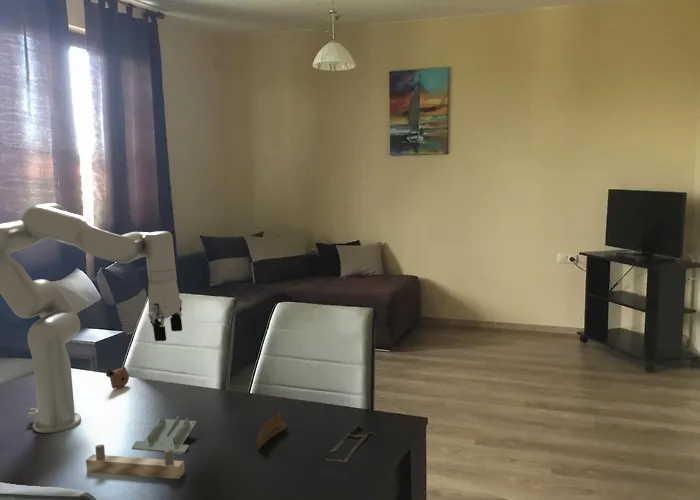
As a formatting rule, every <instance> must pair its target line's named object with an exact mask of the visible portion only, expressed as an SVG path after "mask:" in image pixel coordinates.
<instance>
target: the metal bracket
mask: <svg viewBox="0 0 700 500" xmlns="http://www.w3.org/2000/svg"><path fill="white" fill-rule="evenodd" d="M196 423H197V421H196V420H190V419H189V418H185V419H180V416H179V415H177V416H176V418H175V419H169V418H165V416H161V417H160V418H159V419H158V420H157V422H156V423H155V425H154V426H153V427H152V429H151V431H150V432H149V433H148V434H147V436H145V437H146V438H145V439H144V440H143V441H142V440H136V441H135V442H134V444H133V445H132V446H131V450H136V451H151V452H161V453H162V452H164V451H166V450H169V449H171V450H173V454H177V455H178V454H180V455H183V454H185V453H186V452H187V450H188V448H189V444H184V443H185V441H186V439H187V438H188V437H189V435H190V433H191V432H192V430H193V428H194V426H195V425H196Z"/></svg>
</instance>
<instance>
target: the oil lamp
mask: <svg viewBox="0 0 700 500" xmlns="http://www.w3.org/2000/svg"><path fill="white" fill-rule="evenodd" d="M105 375H106V377H107V378H109V380H110V385H111V388H112V389H113V390H114V389H122V388H124V387H125V386H126V385H127V384H128V383H129V380H130V374H129V372H128V370H127V368H126V366H123V367H119V368H116V369H115V370H113V369H112V368H111V367H110V368H108V369H107V370H106V374H105Z"/></svg>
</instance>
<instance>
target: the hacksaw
mask: <svg viewBox="0 0 700 500" xmlns="http://www.w3.org/2000/svg"><path fill="white" fill-rule="evenodd" d="M362 428H363V427H362V426H361V425H360V424H356V425H354V426H353V428H352V429H351V430H350V431H348V433H347V434H346V436H344V437H343V438H342V439H341V440H340V441H339V442H337V444H336V445H335V446H333V448H332V449H331V450H330V451H329V453H333V452H336V451H337V450H339V448H341V446H343V444H345V442H347V440H348V439H349V438H353V439H359V440H358V441H357V443H355V445H354V446H353V447H352V449H350V451H349V453H348V454H347V455H346V456H345V458H344V460H342V459H330V458H325V459H324V460H325V461H327V462H341V463H347V462H348V461H349V464H351V465H352V466H353V467H355V468H354V469H353V471H355V470H357V468H358V467H357V465H356V464H354V463H352V462H351V460H352V459H353V458H354V456H353V454H355V452H356V451H357V450H358V449H359V447H361V446H362V444H363V443H364V442H365V441H366V440H367V439H368V438H374V437H375V436H376V434H375V432H373V431H372V432H371V431H370V432H367V433H365V434H356V433H357V432H359V431H362ZM369 434H374V435H373V436H372V437H371V436H370V437H369Z"/></svg>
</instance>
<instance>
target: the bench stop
mask: <svg viewBox="0 0 700 500" xmlns="http://www.w3.org/2000/svg"><path fill="white" fill-rule="evenodd" d="M85 465H86V472H87V473H89V472H90V473H99V474H100V473H102V474H113V475H125V476H139V477H149V478H150V477H151V478H160V479H161V478H163V479H174V480H176V479H177V480H179V479H181V477H182V476H183V475H184V474H185V473H186V472H185V461H184V460H175V459H174V453H173V450H171V449H169V450H166V451H164V459H160V458H149V457H135V456H133V457H132V456H123V455H122V456H121V455H106V452H105V445H104V444H97V445H95V454H94V453H93V454H92V455H90V456H89V457H88V458H86V459H85Z"/></svg>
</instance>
